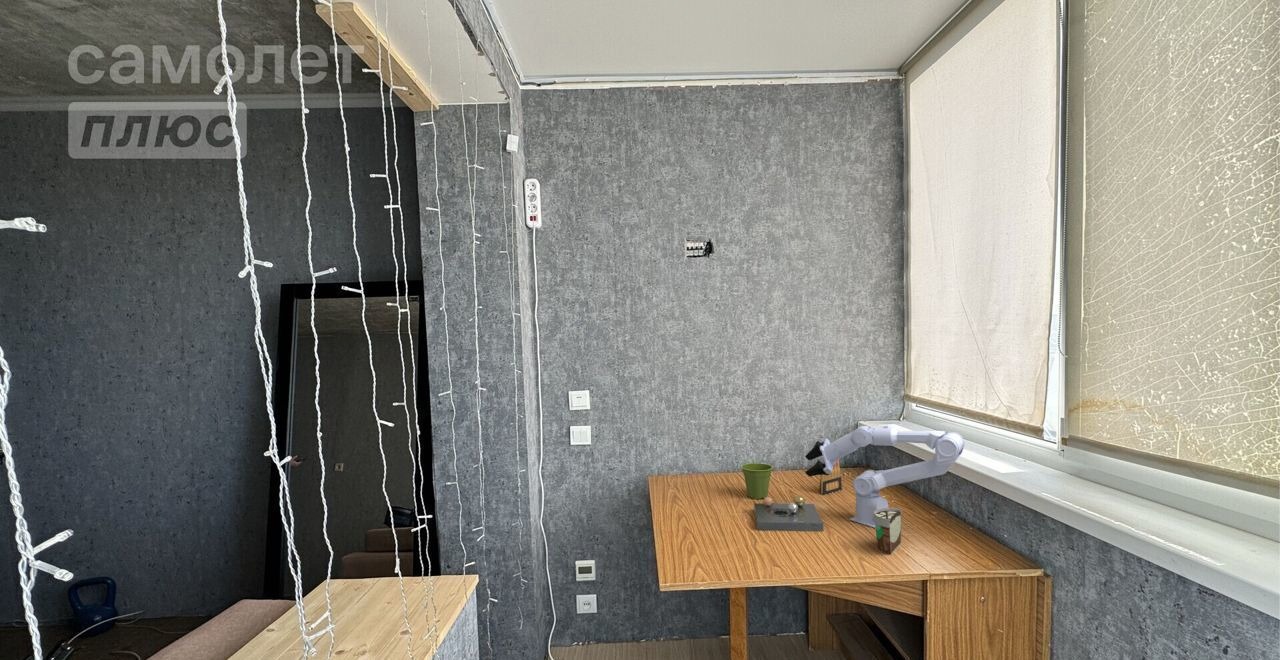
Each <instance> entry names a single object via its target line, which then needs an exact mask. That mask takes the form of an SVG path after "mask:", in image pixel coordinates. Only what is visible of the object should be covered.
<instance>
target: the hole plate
mask: <svg viewBox="0 0 1280 660" xmlns="http://www.w3.org/2000/svg"><path fill="white" fill-rule="evenodd" d="M789 504H790V503H772V504H771V505H770V506H766V505H765V504H764V502H763V503H762V502H761V503H758V502H757V503H753V506H754V507H753V509H754V510H753V511H754V516H755V521H756V527H757V531H764V532H765V531H769V532H771V531H772V532H773V531H779V532H780V531H781V532H783V531H784V532H824V531H825V529H824V528H825V527H824V522H823V520H822V517H821V516H820V514H819V511H818V510H817V508H816V506H815V504H814V503H804V505H803V506H798V511H797V512H796V513H791V512H790V511H789V510H788V505H789Z"/></svg>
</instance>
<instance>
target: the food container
mask: <svg viewBox="0 0 1280 660" xmlns="http://www.w3.org/2000/svg"><path fill="white" fill-rule="evenodd" d="M902 515H903V512H902V508H898V507H897V508H896V507H895V508H894V507H888V508H882V509H878V510H876V511H875V512H874V514H873V518H872V520H873V522H874V523H875V528H874V529H875V537H876V545H877V549H878V550H879V551H880V552H881V553H885V554H888V555H890V556H891V555H893V554H894V552H895V551H897V549H898V548H900V546H901V545H902Z"/></svg>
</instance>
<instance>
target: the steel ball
mask: <svg viewBox="0 0 1280 660" xmlns="http://www.w3.org/2000/svg"><path fill="white" fill-rule="evenodd" d="M788 504H789V505H788V510H789V511H790V512H791V513H796V512H797V511H798V506H797V505H796V504H795V503H794V502H790V503H788Z"/></svg>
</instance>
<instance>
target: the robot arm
mask: <svg viewBox="0 0 1280 660" xmlns="http://www.w3.org/2000/svg"><path fill="white" fill-rule="evenodd" d="M898 443H909V444H910V443H913V444H925V445H926V446H927V447H928V448H930V450H934V452H935V453H934V456H933V458H932V459H929V460H923V461H920V462H915V463H911V464H908V465H902V466H898V467H894V468H889V469H885V470H884V469H883V470H881V469H880V470H873V469H867V470H865V471H864V470H863V472H862V473H861V474H860V475H858V476H856V477H855V478H854V479H853V481H852V487H853V490H854V492H855V493H854V494H855V516H854V517H850V518H849V520H850V521H852V522H855V523H858V524H861V525H864V526H867V527H870V528H874V529H876V528H875V523H874V522H873V520H872V518H873V514H874V512H875V511H876V510H878V509H882V508H889V502H888V499H886V498H885V497H883V496H882V495H881V494H880V491H879V490H881V489H884V488H886V487H890V486H895V485H899V484H904V483H905V484H906V483H910V482H913V481H914V482H915V481H918V480H923V479H927V478H932V477H937V476H942V475H945V474H947V473H948V471H949V470H950V468H951V467H952V466H953V465H954V464H955V462H956V461H957V460H958V459H959V457H960V456H962V454H963V451H964V447H965V440H964V438H963V436H962V435H961V434H960V433H958V432H955V431H948V432H946V431H945V430H902V431H900V430H899V431H898V430H897V429H896V428H895V427H893V426H892V427H890V425H889V424H885V425H884V426H873V425H870V424H869V425H868V426H867V425H859V427H857V428H856V429H854V430H853V431H851V432H849V433H847V434H845V435H843V436H841V437H840V438H837V439H836V440H834V441H832V442H831V441H830V440H829V439H828V438H827V437H826V438H823V439H822V440H821V442H820V441H819V440H817V441H816V442H815V444H814V446H813V447H812V448H811V450H810V451H808V453H806V455H805V456H804V457H805V458H806V459H807V460H808V461H812V460H815V459H817V458H819V457H823V462H824V463H822V461H821V460H820V459H818V460H817V461H816V463H815V464H814V465H812V466H811V467H809V468H808V469H807V470H805V474H806V475H807V476H808V478H809V477H813V476H814V477H816V476H819V475H829V474H830V473H831V472H832V468H833V465H834V463H835V461H837V460H841V459H842V458H844V457H846V456H848V455H849V454H852V453H854V452H855V451H857V450H858V449H859V448H861V447H862V448H865V447H867V446H868V445H869V444H870V445H872V446H887V447H888V446H891V447H892V446H895V445H897V444H898Z"/></svg>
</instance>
